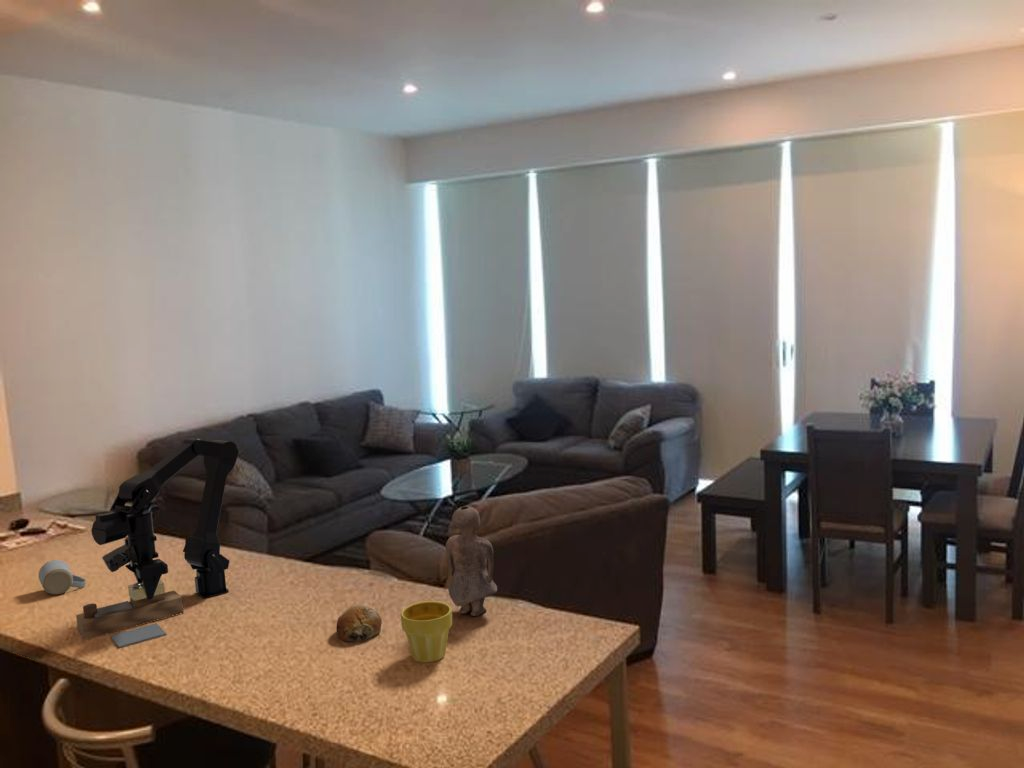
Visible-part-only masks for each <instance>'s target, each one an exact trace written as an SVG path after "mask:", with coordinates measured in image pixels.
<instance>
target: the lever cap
mask: <svg viewBox="0 0 1024 768" xmlns="http://www.w3.org/2000/svg"><path fill="white" fill-rule="evenodd" d="M127 588H128V596H129V598H130V597H131V598H132V599H133V600H134V601H136V600H140V599H144V598H147V596H146V593H145V590H144V586H143V583H142V582H141V583H138V582H136V583H133V584H129V585H127ZM164 593H166V591H165V583H164V581H162V579H160V580H159V583H158V585H157V588H156V591H155V593H154V596H156V595H160V594H164Z"/></svg>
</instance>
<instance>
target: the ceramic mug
mask: <svg viewBox="0 0 1024 768" xmlns="http://www.w3.org/2000/svg"><path fill="white" fill-rule="evenodd" d="M70 567H71V566H69V564H68V563H67V562H65V561H64V560H61V559H52V560H49V561H47V562H45V563H43V565H42V566H41V567H40V569H39V571H38V579H39V583H40V585H41V586H42V588H43V590H44V591H45V592H46V593H48V594H50V595H54V596H55V595H56V596H58V595H62V594H65V593H66V592H67V591H69V589H70V588H71V587H72V588H76V589H77V588H79V589H82V588H84V587H85V586H86V583H87V580H86V579H85V578H84V577H81V576H79V575H75V574H72V571H71V568H70Z"/></svg>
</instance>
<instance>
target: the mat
mask: <svg viewBox="0 0 1024 768" xmlns="http://www.w3.org/2000/svg"><path fill="white" fill-rule="evenodd" d="M164 636H167V632H166V631H165V630H164V629H162V627H161V626H160V625H159V624H158V623H157V622H155V623H152V624H148V625H145V626H140V627H136V628H133V629H130V630H125V631H123V632H118V633H115V634H111V635H110V638H111V640H112V639H113V640H112V641H113V642H114V643H115V645H116V646H117V647H118V648H119V649H121V648H125V647H128V646H133V645H135V644H139V643H143V642H146V640H147V641H149V640H153V639H156V638H160V637H164Z"/></svg>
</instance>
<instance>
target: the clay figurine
mask: <svg viewBox="0 0 1024 768" xmlns="http://www.w3.org/2000/svg"><path fill="white" fill-rule="evenodd" d="M451 521H452V522H451V523H452V524H453V525H454V526H456V527H457V528H458V529H459V531H460V534H457V535H456V534H455V535H452V536H450V537H449V538H448V539H447V541H446V542H445V553H446V556H447V563H448V568H449V573H450V575H451V576H452V578H451V580H450V583H449V586H448V595H449V597H450V599H451V601H452V602H453V604H454V606H455V607H460V609H459V610H458V612H459V613H460V614H462V615H463V614H468V613H469V612H470V611H471V612H470V616H474V617H477V616H480V615H482V614H483V613H486V612H487V609H486V607H485V606H484V603H485V598H487V597H490V596H492V595H495V594H497V592H498V586H497V584H496V583H495V582H494V580H493V576H494V575H493V574H494V557H495V556H494V553H495V552H494V548H493V545H492V543H491V542H490V541H489V540H488V539H487V538H484V537H480V536H478V535H477V533H478V532H479V530H480V526H481V519H480V514H479V512H478V510H477V509H476V508H474V507H472V506H468V505H465V506H461V507H459V508H457V509H456V510H455V511H454V512H453V514H452V516H451Z"/></svg>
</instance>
